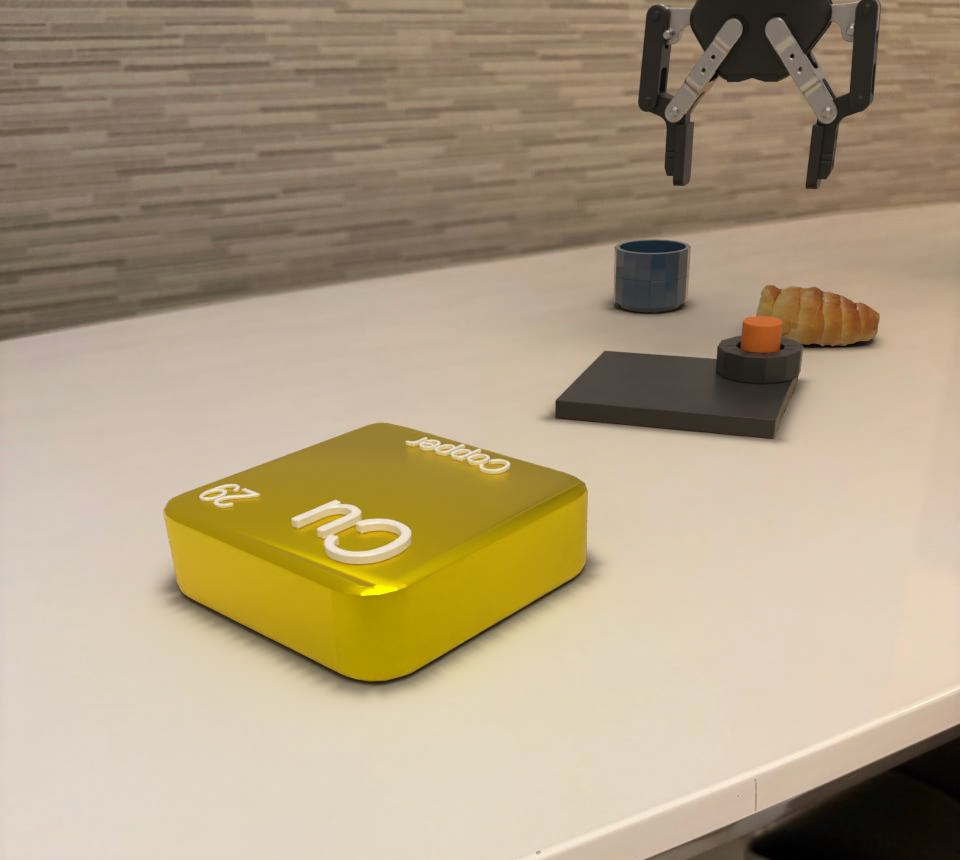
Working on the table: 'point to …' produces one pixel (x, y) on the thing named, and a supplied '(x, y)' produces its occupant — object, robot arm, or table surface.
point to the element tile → (378, 546)
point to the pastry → (818, 316)
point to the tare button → (761, 334)
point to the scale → (688, 390)
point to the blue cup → (651, 275)
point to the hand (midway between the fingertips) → (745, 186)
